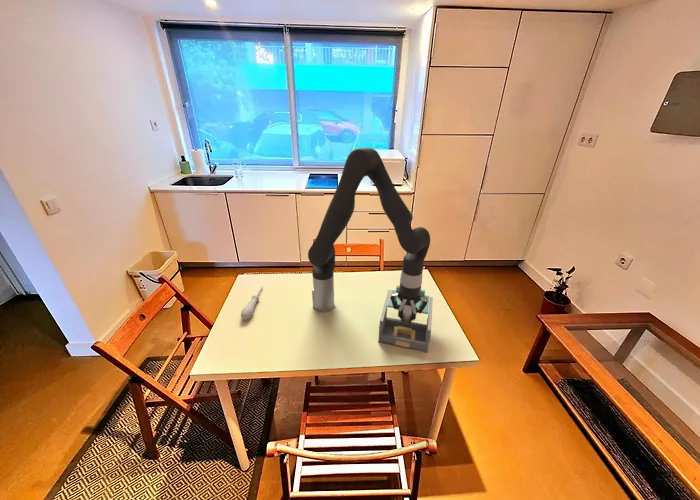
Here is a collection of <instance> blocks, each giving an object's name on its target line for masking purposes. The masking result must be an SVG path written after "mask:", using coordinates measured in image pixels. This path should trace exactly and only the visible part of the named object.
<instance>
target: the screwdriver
mask: <svg viewBox="0 0 700 500" xmlns="http://www.w3.org/2000/svg"><path fill="white" fill-rule="evenodd" d="M263 288H264V287H263V286H261V287H260V288H259V291H258V292H257V294H256V295H252V296H251V300H250V301H249V302H248V303H247V305H246V306H245V307H243V309H242V310H241V311H240V312H241V313H240V318H241V319H242V320H245V321H246V320H249V319H250V318H251V317H252V316H253V315H254V310H255V308H256V306H257V303H258V302H259V301H260V297H259V295H260V293H261V292H262V290H263Z"/></svg>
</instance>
